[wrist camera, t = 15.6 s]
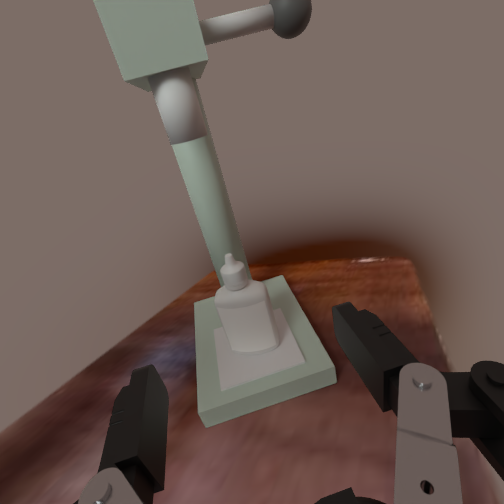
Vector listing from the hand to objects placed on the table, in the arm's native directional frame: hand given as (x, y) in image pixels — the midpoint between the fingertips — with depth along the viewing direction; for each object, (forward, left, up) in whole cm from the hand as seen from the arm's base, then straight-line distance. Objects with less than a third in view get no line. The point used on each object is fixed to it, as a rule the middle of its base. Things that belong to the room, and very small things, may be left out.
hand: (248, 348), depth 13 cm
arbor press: (-5, +18, -18) cm, 26 cm away
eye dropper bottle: (-6, +14, -16) cm, 22 cm away
